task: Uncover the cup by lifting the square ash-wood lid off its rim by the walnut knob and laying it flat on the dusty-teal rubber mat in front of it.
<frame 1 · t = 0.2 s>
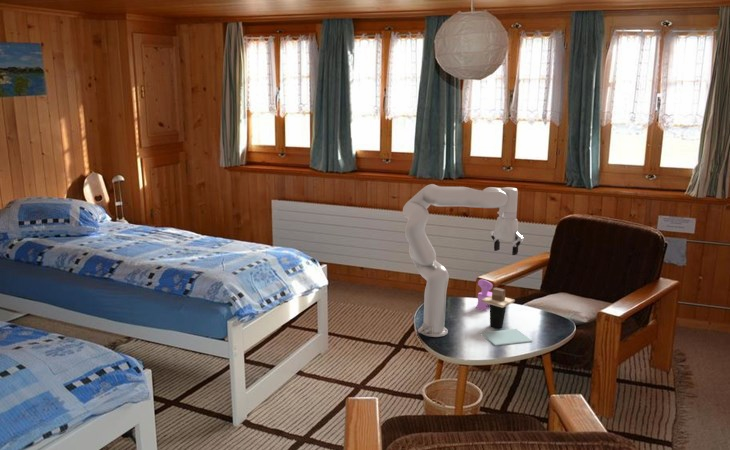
hand: (505, 252, 294), 35 cm above the table, tool pointing down, fingers open, 9 cm apart
mat: (505, 337, 289), on the table
toy chair: (485, 307, 326), on the table
cup: (496, 326, 302), on the table, touching lid
lid: (498, 301, 299), point 12 cm above the table, touching cup
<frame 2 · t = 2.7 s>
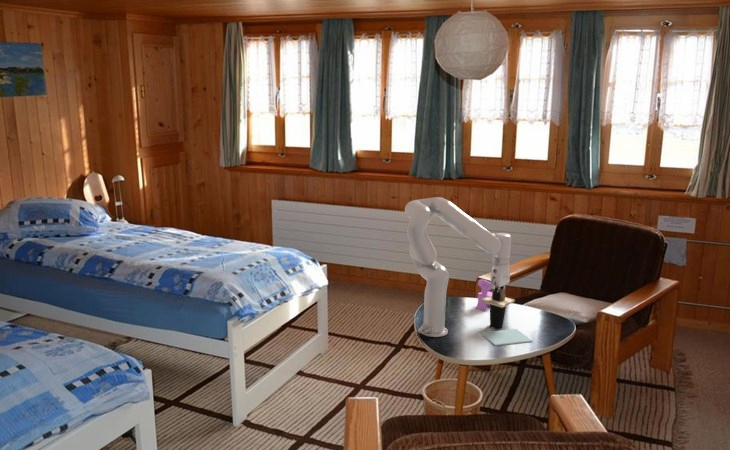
hand: (498, 298, 299), 13 cm above the table, tool pointing down, fingers closed on lid, 3 cm apart
lid: (498, 301, 299), point 12 cm above the table, touching cup, gripper
everything else where it was.
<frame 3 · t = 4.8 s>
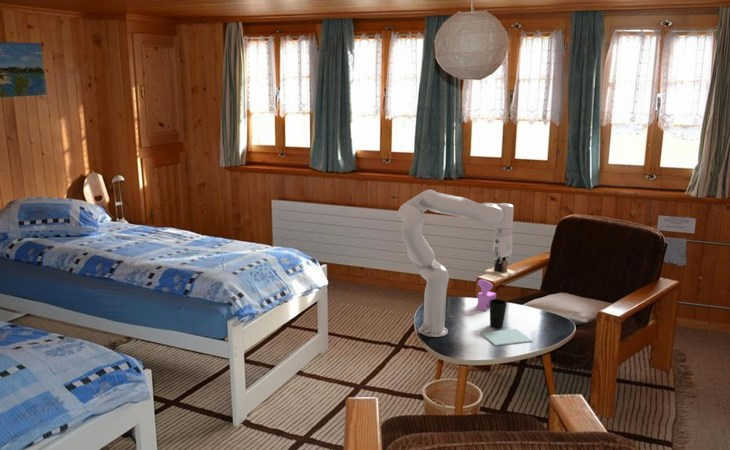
hand: (500, 270, 295), 27 cm above the table, tool pointing down, fingers closed on lid, 3 cm apart
cup: (496, 326, 302), on the table
lid: (500, 273, 295), point 26 cm above the table, touching gripper
everything else where it was.
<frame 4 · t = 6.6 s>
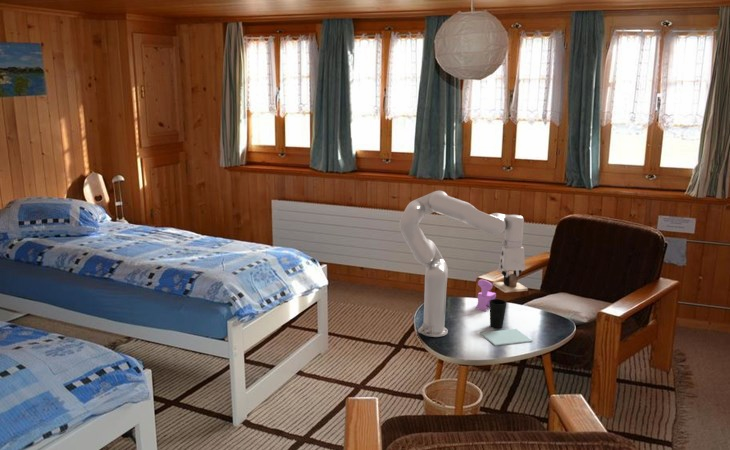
hand: (510, 284, 283), 25 cm above the table, tool pointing down, fingers closed on lid, 3 cm apart
lid: (510, 287, 283), point 23 cm above the table, touching gripper
everything else where it was.
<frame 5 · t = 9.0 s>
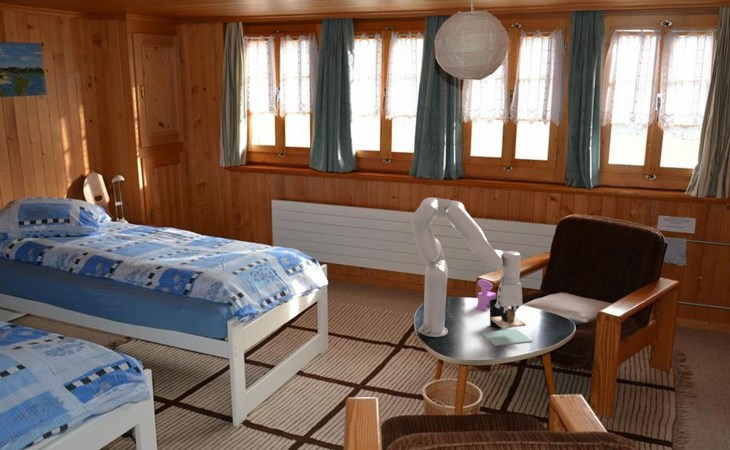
hand: (507, 319, 287), 8 cm above the table, tool pointing down, fingers closed on lid, 3 cm apart
lid: (507, 322, 287), point 7 cm above the table, touching gripper
everything else where it was.
when the fingers open (3 cm above the table, at t = 10.9 s): lid drops 1 cm, resting on mat.
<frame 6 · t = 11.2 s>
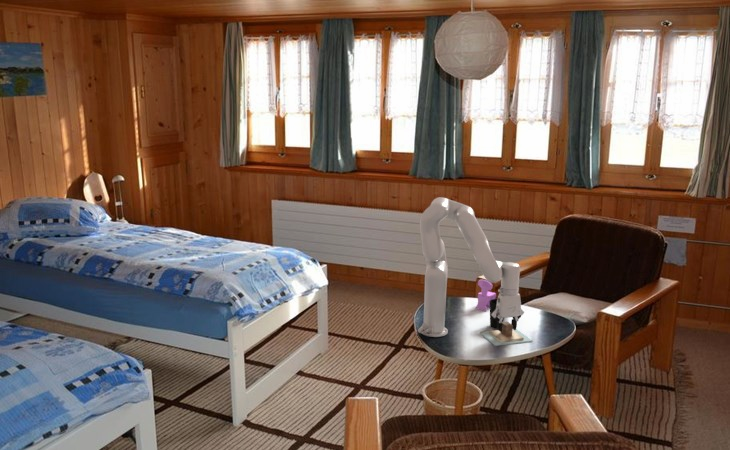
hand: (506, 329, 288), 4 cm above the table, tool pointing down, fingers open, 6 cm apart
lid: (506, 336, 288), point 1 cm above the table, touching mat
everything else where it was.
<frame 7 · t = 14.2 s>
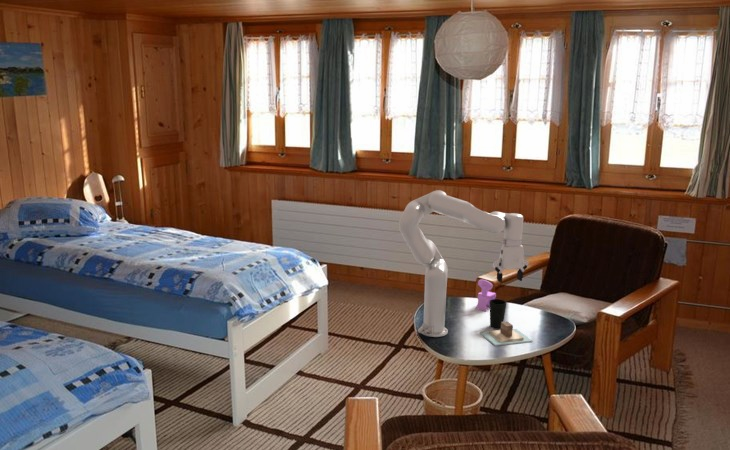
hand: (509, 280, 283), 26 cm above the table, tool pointing down, fingers open, 9 cm apart
nothing on the table moved.
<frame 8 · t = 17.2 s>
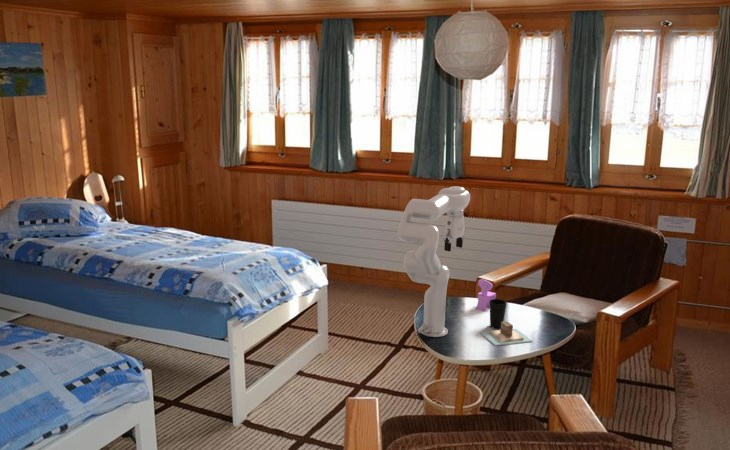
hand: (453, 249, 306), 33 cm above the table, tool pointing down, fingers open, 9 cm apart
nothing on the table moved.
at the end: lid inside the target area on the mat (0.0 cm from its centre), point 0.6 cm above the mat's base; the gripper is holding nothing; cup tilted 0° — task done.
